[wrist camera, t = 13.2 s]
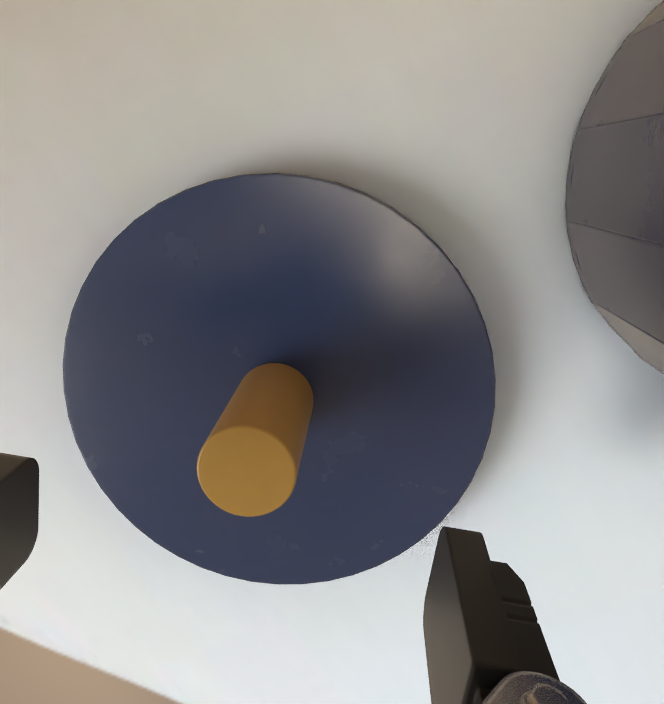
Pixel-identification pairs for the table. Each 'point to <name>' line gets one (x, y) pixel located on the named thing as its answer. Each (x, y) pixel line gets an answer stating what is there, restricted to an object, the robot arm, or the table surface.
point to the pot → (624, 192)
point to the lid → (279, 378)
